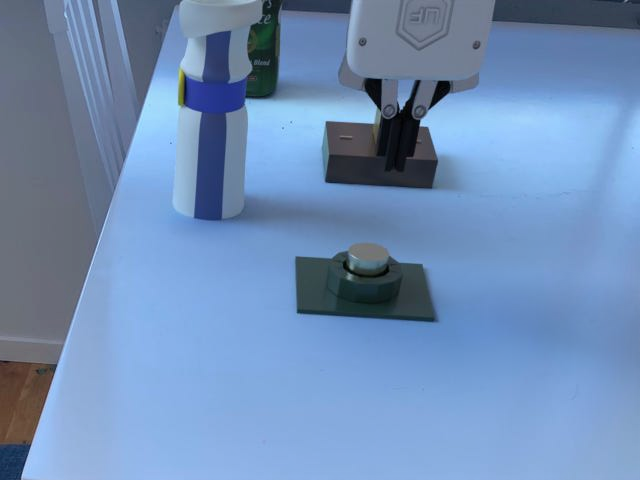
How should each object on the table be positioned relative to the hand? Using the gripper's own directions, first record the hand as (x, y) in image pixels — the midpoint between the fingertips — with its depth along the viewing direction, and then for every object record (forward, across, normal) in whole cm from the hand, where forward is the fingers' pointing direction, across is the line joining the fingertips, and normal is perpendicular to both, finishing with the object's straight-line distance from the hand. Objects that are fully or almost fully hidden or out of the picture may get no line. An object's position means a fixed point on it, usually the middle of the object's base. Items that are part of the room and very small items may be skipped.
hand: (392, 165), depth 78 cm
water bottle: (+13, -16, +20) cm, 28 cm away
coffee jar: (+13, -13, +57) cm, 60 cm away
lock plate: (+13, +3, +33) cm, 35 cm away
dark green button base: (+13, -1, 0) cm, 13 cm away
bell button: (+9, -1, 0) cm, 9 cm away
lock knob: (+10, +3, +33) cm, 34 cm away
